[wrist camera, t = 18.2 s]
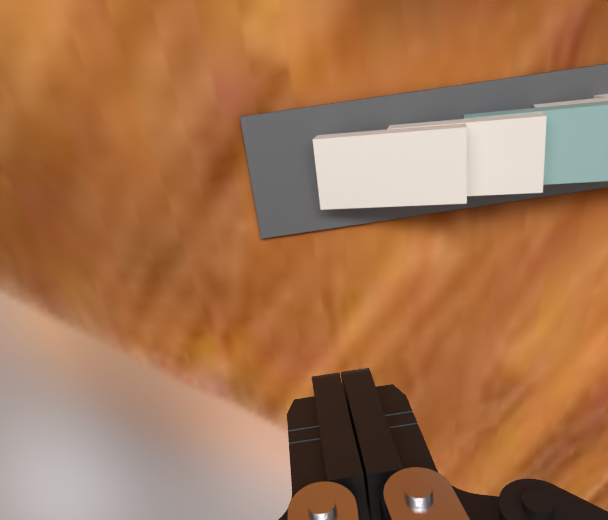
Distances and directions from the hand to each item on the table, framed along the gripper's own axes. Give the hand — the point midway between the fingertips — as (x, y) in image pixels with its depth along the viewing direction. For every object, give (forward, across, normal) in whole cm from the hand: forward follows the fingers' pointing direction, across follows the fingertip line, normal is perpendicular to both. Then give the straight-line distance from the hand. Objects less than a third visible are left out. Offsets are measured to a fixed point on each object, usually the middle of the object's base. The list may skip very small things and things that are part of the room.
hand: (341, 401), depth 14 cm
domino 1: (+26, -2, 0) cm, 26 cm away
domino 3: (+26, -12, 0) cm, 28 cm away
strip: (+27, -12, 0) cm, 29 cm away
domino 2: (+26, -7, 0) cm, 27 cm away
